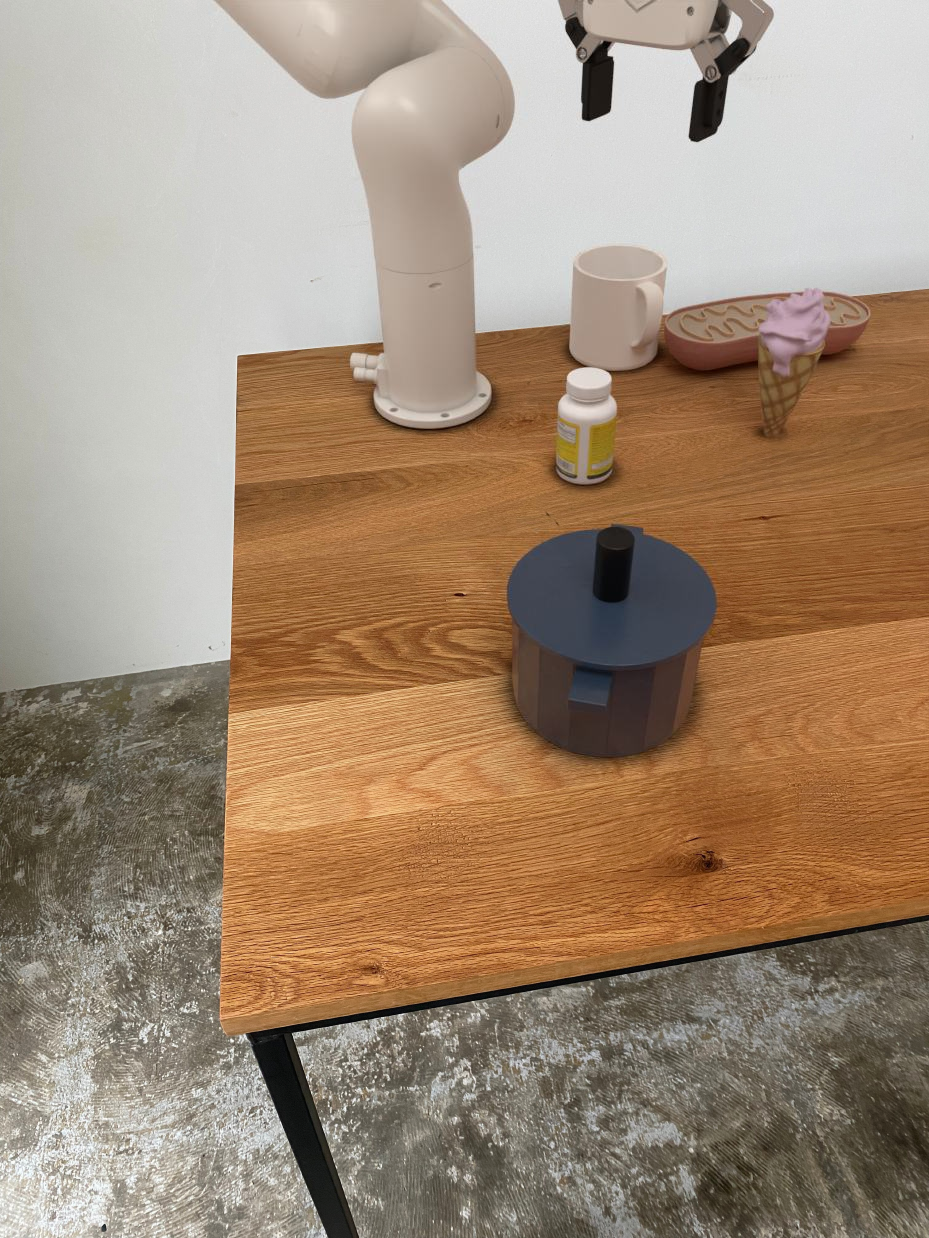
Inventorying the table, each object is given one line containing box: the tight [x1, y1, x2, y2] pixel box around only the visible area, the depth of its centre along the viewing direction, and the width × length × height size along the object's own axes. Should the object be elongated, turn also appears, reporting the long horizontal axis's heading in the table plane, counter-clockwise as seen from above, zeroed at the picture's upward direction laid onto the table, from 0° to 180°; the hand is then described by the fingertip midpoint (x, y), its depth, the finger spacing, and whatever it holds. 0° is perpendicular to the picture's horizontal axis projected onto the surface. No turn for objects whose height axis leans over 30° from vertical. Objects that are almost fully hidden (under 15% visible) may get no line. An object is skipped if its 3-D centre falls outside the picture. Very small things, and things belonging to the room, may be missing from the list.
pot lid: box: [506, 526, 718, 671], centre depth 61 cm, size 14×14×6 cm
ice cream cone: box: [757, 287, 831, 439], centre depth 88 cm, size 7×6×15 cm
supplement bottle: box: [555, 366, 618, 486], centre depth 86 cm, size 5×5×10 cm
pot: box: [511, 523, 704, 758], centre depth 65 cm, size 13×18×9 cm
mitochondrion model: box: [663, 290, 872, 371], centre depth 104 cm, size 23×10×5 cm, turn 101°
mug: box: [568, 243, 668, 372], centre depth 103 cm, size 13×10×10 cm
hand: (647, 127), depth 72 cm, fingers open, 9 cm apart
